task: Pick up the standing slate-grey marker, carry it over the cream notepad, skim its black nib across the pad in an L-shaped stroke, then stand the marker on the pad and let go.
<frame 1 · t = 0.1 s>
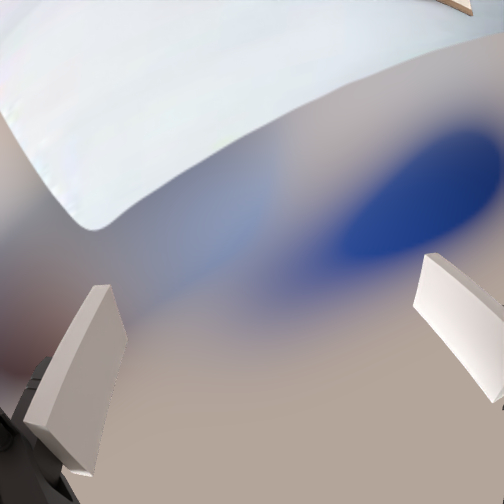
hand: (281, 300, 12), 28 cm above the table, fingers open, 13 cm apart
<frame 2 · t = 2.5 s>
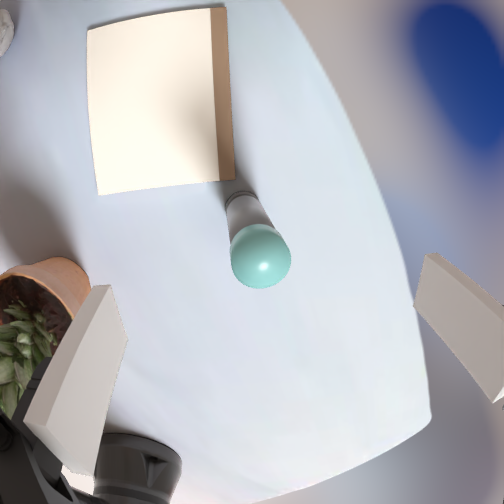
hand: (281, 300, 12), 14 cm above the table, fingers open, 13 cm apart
notepad: (157, 97, 20), on the table
potted plant: (63, 282, 25), on the table
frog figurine: (6, 44, 15), on the table
marker: (243, 208, 24), on the table
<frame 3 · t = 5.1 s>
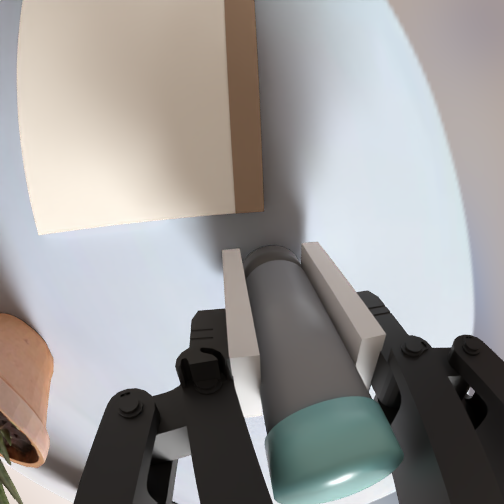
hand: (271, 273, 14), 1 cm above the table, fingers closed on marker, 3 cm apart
notepad: (124, 64, 10), on the table
potted plant: (18, 344, 16), on the table
marker: (270, 273, 14), point 1 cm above the table, touching gripper
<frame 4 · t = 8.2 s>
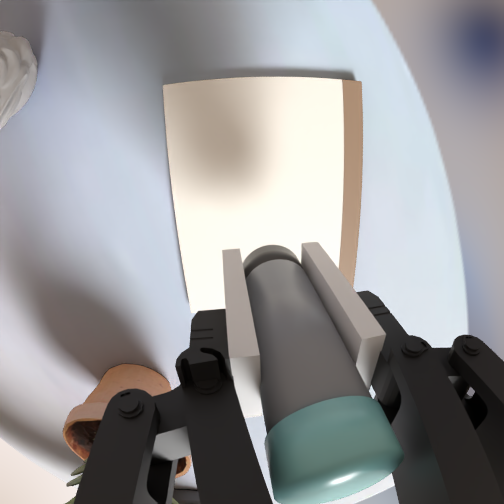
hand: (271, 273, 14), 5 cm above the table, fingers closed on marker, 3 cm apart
notepad: (270, 198, 18), on the table
potted plant: (135, 385, 23), on the table
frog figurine: (24, 85, 13), on the table
marker: (270, 272, 14), point 5 cm above the table, touching gripper
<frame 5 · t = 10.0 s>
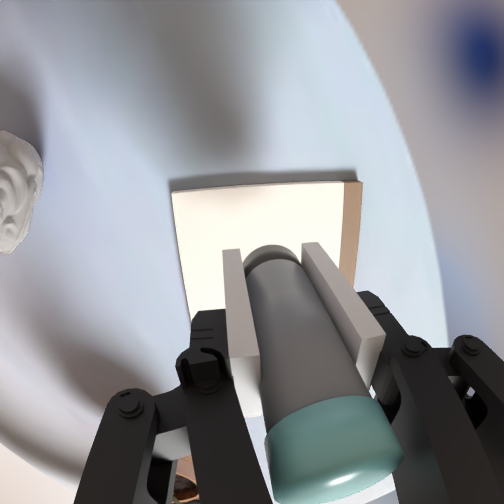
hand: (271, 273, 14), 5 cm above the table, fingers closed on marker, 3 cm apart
notepad: (272, 289, 20), on the table
potted plant: (152, 423, 25), on the table
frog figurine: (31, 173, 15), on the table
marker: (270, 272, 14), point 5 cm above the table, touching gripper
when the fingers open (5 cm above the table, at t = 11.6 s): marker drops 4 cm, resting on notepad.
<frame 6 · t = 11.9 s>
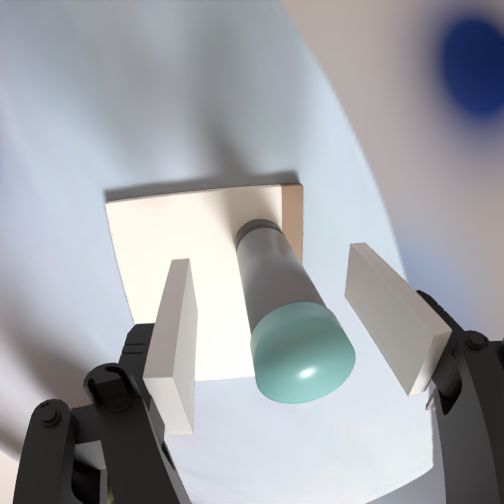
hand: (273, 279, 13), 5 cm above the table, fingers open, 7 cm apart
notepad: (213, 298, 19), on the table
marker: (259, 242, 17), point 1 cm above the table, touching notepad
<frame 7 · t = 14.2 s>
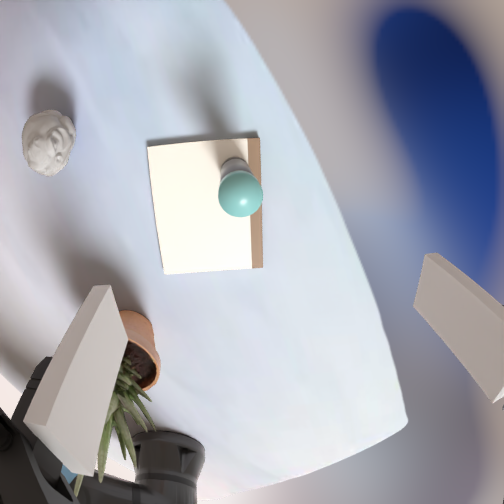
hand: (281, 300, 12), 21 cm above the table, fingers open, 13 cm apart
notepad: (207, 208, 31), on the table
potted plant: (129, 327, 37), on the table
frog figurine: (65, 138, 26), on the table
marker: (235, 170, 29), point 1 cm above the table, touching notepad
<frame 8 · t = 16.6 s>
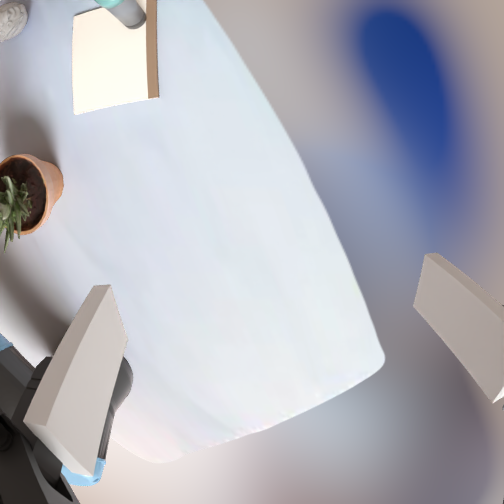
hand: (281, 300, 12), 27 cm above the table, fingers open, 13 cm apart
notepad: (113, 52, 27), on the table
potted plant: (45, 182, 33), on the table
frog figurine: (21, 26, 23), on the table
marker: (135, 19, 26), point 1 cm above the table, touching notepad
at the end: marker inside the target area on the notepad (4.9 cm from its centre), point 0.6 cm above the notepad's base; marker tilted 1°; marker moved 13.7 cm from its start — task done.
